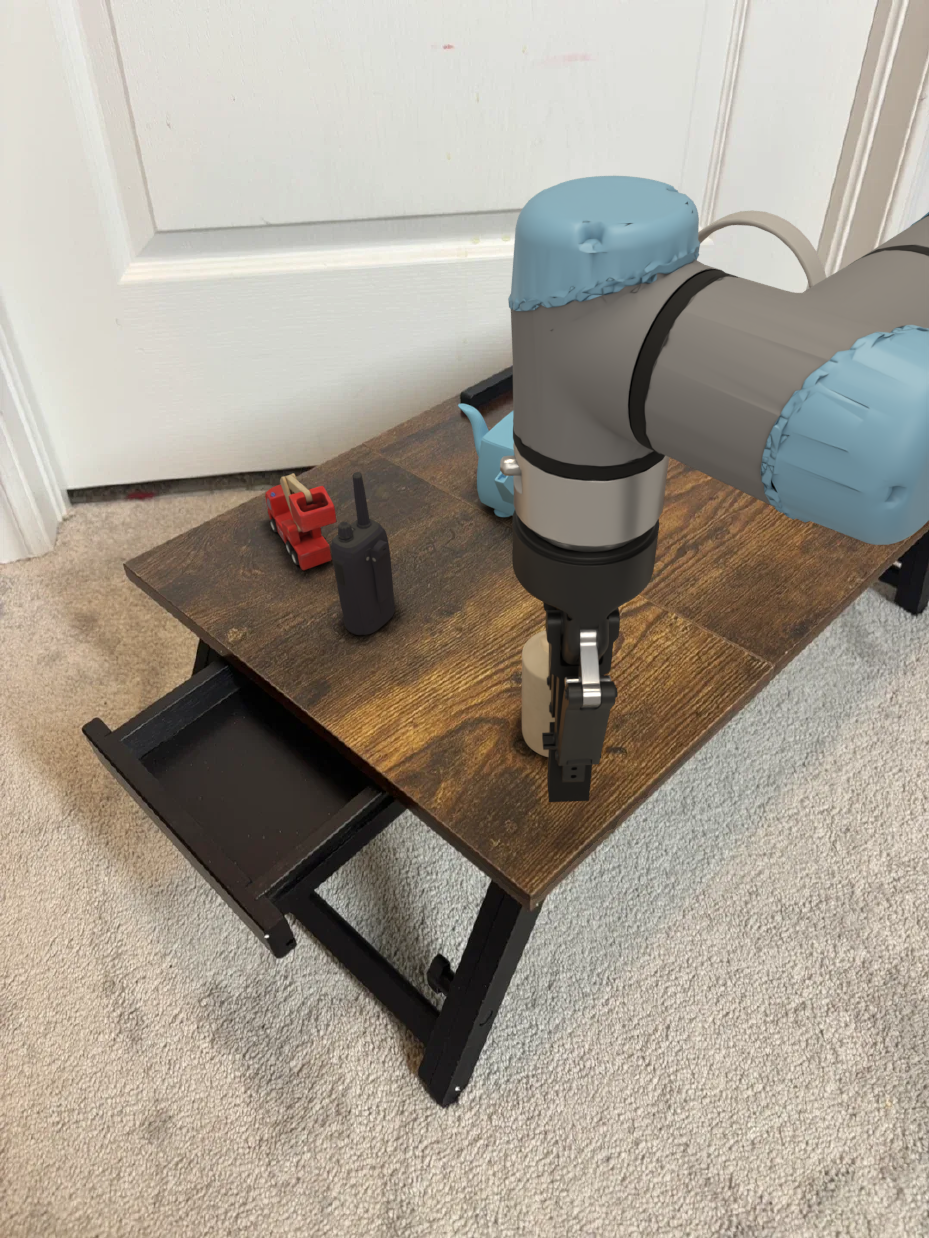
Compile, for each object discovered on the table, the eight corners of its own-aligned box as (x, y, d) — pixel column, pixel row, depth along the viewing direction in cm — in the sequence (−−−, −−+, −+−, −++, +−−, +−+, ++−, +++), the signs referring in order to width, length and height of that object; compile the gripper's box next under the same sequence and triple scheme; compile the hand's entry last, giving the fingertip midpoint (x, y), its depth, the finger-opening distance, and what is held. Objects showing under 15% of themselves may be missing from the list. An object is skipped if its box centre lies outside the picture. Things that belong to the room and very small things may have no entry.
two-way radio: (376, 596, 86) (357, 457, 76) (414, 614, 84) (399, 474, 74) (336, 630, 83) (310, 490, 72) (374, 650, 81) (353, 508, 70)
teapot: (642, 499, 95) (651, 412, 89) (578, 575, 87) (583, 485, 80) (492, 453, 103) (490, 369, 96) (420, 518, 94) (413, 432, 88)
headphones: (824, 389, 110) (865, 222, 98) (792, 418, 106) (831, 248, 93) (676, 345, 120) (695, 188, 107) (641, 370, 116) (657, 209, 103)
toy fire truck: (297, 511, 96) (281, 430, 90) (348, 585, 87) (334, 500, 81) (266, 521, 95) (248, 439, 89) (315, 597, 86) (298, 512, 80)
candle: (569, 697, 76) (574, 604, 69) (605, 743, 72) (614, 650, 65) (509, 720, 74) (508, 628, 67) (543, 769, 70) (545, 677, 63)
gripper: (506, 444, 52) (508, 722, 68) (519, 597, 43) (518, 878, 59) (640, 439, 52) (610, 718, 68) (683, 591, 43) (637, 874, 58)
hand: (567, 792), depth 63 cm, fingers closed
